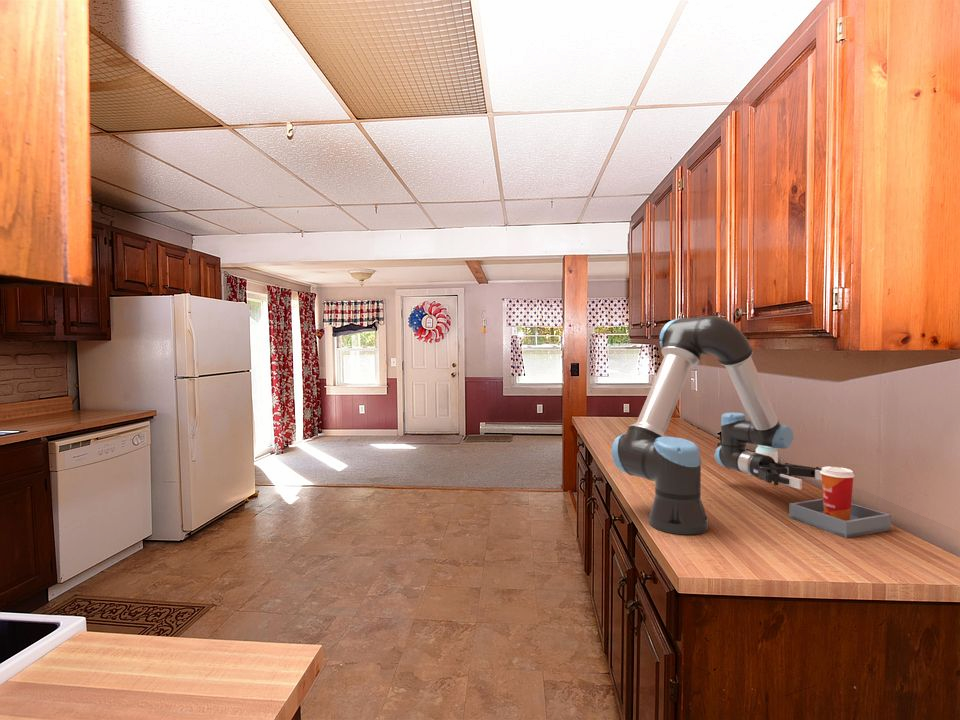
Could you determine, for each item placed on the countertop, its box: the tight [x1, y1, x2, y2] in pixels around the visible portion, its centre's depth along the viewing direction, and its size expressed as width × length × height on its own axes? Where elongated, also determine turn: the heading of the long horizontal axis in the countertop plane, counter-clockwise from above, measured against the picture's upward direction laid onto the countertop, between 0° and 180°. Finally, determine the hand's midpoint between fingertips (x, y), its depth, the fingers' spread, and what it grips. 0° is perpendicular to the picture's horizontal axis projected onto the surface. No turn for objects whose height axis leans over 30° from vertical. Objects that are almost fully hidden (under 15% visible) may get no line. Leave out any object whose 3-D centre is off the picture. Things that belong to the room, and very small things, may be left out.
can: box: [755, 445, 779, 463], centre depth 180 cm, size 7×7×12 cm
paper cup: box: [820, 466, 855, 521], centre depth 134 cm, size 8×8×14 cm
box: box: [788, 498, 892, 539], centre depth 134 cm, size 16×16×4 cm
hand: (819, 482), depth 139 cm, fingers open, 13 cm apart
